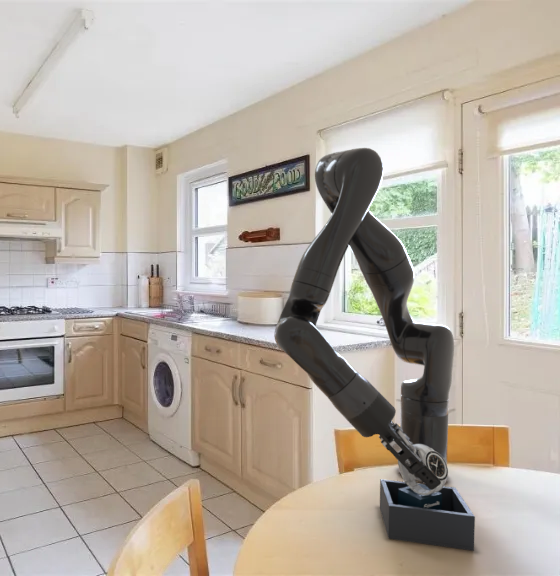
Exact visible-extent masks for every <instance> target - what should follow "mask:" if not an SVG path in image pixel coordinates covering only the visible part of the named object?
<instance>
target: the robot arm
mask: <svg viewBox="0 0 560 576" xmlns="http://www.w3.org/2000/svg"><path fill="white" fill-rule="evenodd" d="M383 176H384V164H383V160H382V158H381V156H380V154H379V153H378V152H377V151H376V150H374V149H372V148H369V147H358V148H351V149H346V150H342V151H336V152H331V153H328V154H325V155H324V156H322V157H321V158H320V159H318V162H317V163H316V166H315V169H314V182H315V187H316V189H317V191H318V193H319V195H320V197H321V199H322V200H323V202H324V204H325V205H326V207H327V209H328V210H329V212H330V213H331V215H330V217H329V218H328V220H327V221H326V223H325V225H324V226H323V227H322V228H321V230H319V232H318V234H317V235H316V236H315V237H314V239H313V240H312V241H311V242H310V243H309V245H308V246H307V247H306V249H305V250H304V252H303V254H302V255H301V258H300V260H299V262H298V265H297V268H296V271H295V273H294V276H293V279H292V282H291V285H290V289H289V294H288V297H287V299H286V302H285V304H284V306H283V308H282V311H281V314H280V315H279V318H278V321H277V323H276V324H275V325H276V326H275V329H274V336H273V337H274V341H275V344H276V345H277V346H278V348H279V349H280V350H282V351H283V352H284V353H285V354H286V355H287V356H288V357H289V358H290V359H291V360H292V361H294V363H296V365H297V366H299V368H301V369H302V370H303V371H304V372H305V373H306V374H307V376H308V377H309V379H310V380H311V381H312V383H313V384H314V385H315V386H316V387H317V389H319V390H320V391H321V392H322V393H323V395H324V396H325V397H326V398H327V399H328V400H329V401H330V402H331V404H332V405H333V407H334V408H335V409H336V410H337V411H338V412H339V414H341V415H342V416H343V418H344V419H346V420H347V422H348V423H349V424H350V425H351V427H353V428H354V430H356V432H358V433H359V434H360V435H361V437H363V438H371V437H373V436H375V435H378V438H379V440H380V444H382V446H383V447H384V448H385V449H386V450H387V451H389V453H391V455H393V456H394V458H395V459H396V460H397V462H398V461H400V463H401V464H402V465H403V466H404V467H405V468H406V469H407V470H408V472H409V473H410V474H412V475H413V474H414V476H415V481H416V483H421V484H425V485H426V486H427V487H428V488H429V489H431V490H433V489H435V488H436V487H437V486H439V485H440V484H441V481H440V480H439V478H438V477H437V476H436V475H435V474H434V473H433V472H432V471H431V470H430V469H429V468H428V467H427V466H426V465H425V463H424V461H423V460H421V459H420V456H419V454H418V451H419V450H417V449H415V447H414V446H413V445H414V444H423V445H425V446H428V447H430V448H432V449H433V450H434V451H436V452H437V453H439V454H440V455H441V456H442V457H443V459H444V460H445V462H446V464H447V465H448V451H449V449H448V448H449V447H448V446H449V442H448V441H449V402H450V401H449V398H450V390H451V386H452V382H453V381H452V380H453V368H454V367H453V366H454V357H455V339H454V334H453V332H452V330H451V329H450V327H448V326H446V325H443V324H439V323H437V324H436V323H427V322H417V321H415V320H414V319H413V317H412V316H411V314H410V313H411V312H410V310H409V307H408V300H409V298H410V297H409V296H410V294H411V291H412V288H413V285H414V282H415V269H414V266H413V263H412V261H411V258H410V256H409V255H408V252H407V249H406V248H405V246H404V244H403V243H402V241H401V240H400V238H398V236H396V234H394V232H392V230H390V228H389V227H387V226H386V225H385V224H384V223H382V222H381V221H380V220H379V219H378V218H377V217H375V215H373V213H372V212H371V211H370V210H369V209H370V207H371V205H372V203H373V201H374V199H375V197H376V195H377V193H378V191H379V189H380V187H381V185H382V182H383V178H384V177H383ZM348 248H350V250H351V252H352V254H353V256H354V258H355V260H356V263H357V265H358V267H359V270H360V272H361V274H362V276H363V278H364V280H365V282H366V285H367V286H368V288H369V290H370V292H371V294H372V296H373V298H374V301H375V303H376V306H377V307H378V310H379V313H380V315H381V318H382V320H383V323H384V326H385V330H386V331H387V332H386V333H387V335H388V339H389V341H390V344H391V347H392V349H393V351H394V354H395V355H396V357H397V358H398V359H399V360H400V361H402V362H404V363H407V364H411V365H417V366H422V367H423V373H422V376H420V377H417V378H410V379H406V380H403V381H402V383H401V385H400V416H399V417H400V418H399V419H400V422H399V424H398V423H397V422H393V420H394V418H395V416H396V411H397V409H396V408H395V407H394V406H393V405H392V403H390V401H389V400H388V399H386V397H385V396H384V395H383V394H381V392H380V391H379V390H377V388H376V387H375V386H374V385H373V384H372V383H371V382H370V381H369V380H368V379H367V378H366V377H364V376H363V375H361V374H360V373H359V372H358V371H357V370H356V369H355V368H354V367H353V366H352V365H351V364H350V363H349V362H348V361H347V360H346V358H344V357H343V356H342V355H341V354H340V353H338V351H336V350H335V348H333V346H332V345H331V344H330V342H329V341H328V340H327V338H326V337H325V336H324V335H323V334H322V333H321V331H320V330H319V329H318V328H317V327H316V326H317V323H318V321H319V318H320V314H321V312H322V310H323V308H324V307H325V305H326V304H327V302H328V300H329V297H330V295H331V292H332V290H333V286H334V284H335V281H336V277H337V275H338V272H339V269H340V266H341V264H342V262H343V259H344V256H345V254H346V253H347V250H348ZM407 459H408V461H410V464H409V463H408V462H407ZM398 472H399V474H400V475H401V473H400V470H399V469H398ZM447 481H448V477H447V478H446V482H447Z"/></svg>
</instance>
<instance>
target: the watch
mask: <svg viewBox="0 0 560 576" xmlns="http://www.w3.org/2000/svg"><path fill="white" fill-rule="evenodd" d="M413 446H414V447H415V449H417V450H419V451H418V454H419V456H420V459H421V460H423V461H424V463H425V465H426V466H427V467H428V468H429V469H430V470H431V471H432V472H433V473H434V474H435V475H436V476H437V477H438V478H439V480H440V481H441V484H440V485H439V486H437V487H436V488H435V489H433V490H431V489H429V488H428V487H427V486H425V485H422V484H423V483H421V482H418V483H419V484H416V483H417V481H415V476H414V474H413V475H412V474H410V473H409V472H408V470H407V469H406V468H405V467H404V466H403V465H402V464H401V463H400V461H398V460H397V466H398V471H399V470H400V472H399V474H400V473H401V474H400V475H401V477H402V480H403V482H405V483H406V484H407V485H408V487H404V488H400V489H398V505H403V506H411V507H419V508H427V509H435V510H442V493H440V492H438V491H440V490H441V489H442V488H443V486H445V484H446V483H447V481H446V478H447V479H448V476H449V468H448V463H447V464H446V462H445V460H444V459H443V457H442V456H441V455H440V454H439V453H437V452H436V451H434V450H433V449H432V448H430V447H428V446H425V445H423V444H414V445H413ZM407 462H408V463H409V464H410V461H408V459H407Z"/></svg>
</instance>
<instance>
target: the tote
mask: <svg viewBox="0 0 560 576" xmlns="http://www.w3.org/2000/svg"><path fill="white" fill-rule="evenodd" d="M419 483H420V482H416V484H419ZM421 484H422V485H425V484H424V483H421ZM425 486H426V485H425ZM404 487H408V485H407V484H406V483H405V482H404V481H401V480H400V481H399V480H392V479H384V478H383V479H382V478H381V479H379V510H380V514H381V516H382V521H383V524H384V528H385V532H386V535H387V538H388V540H396V541H403V542H408V543H417V544H423V545H430V546H438V547H444V548H451V549H457V550H465V551H470V552H474V551H475V527H476V524H475V523H476V516H475V514H474V513H473V512H472V510H471V508H470V507H469V506H468V503H466V501H465V499H464V498H463V496H462V495H461V494H460V492H459V490H458V489H457V488H456V487H454V486H445V485H444V486H443V488H442V489H441V490H440V491H438V492H440V493H442V510H435V509H427V508H419V507H411V506H403V505H398V489H400V488H404Z"/></svg>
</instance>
